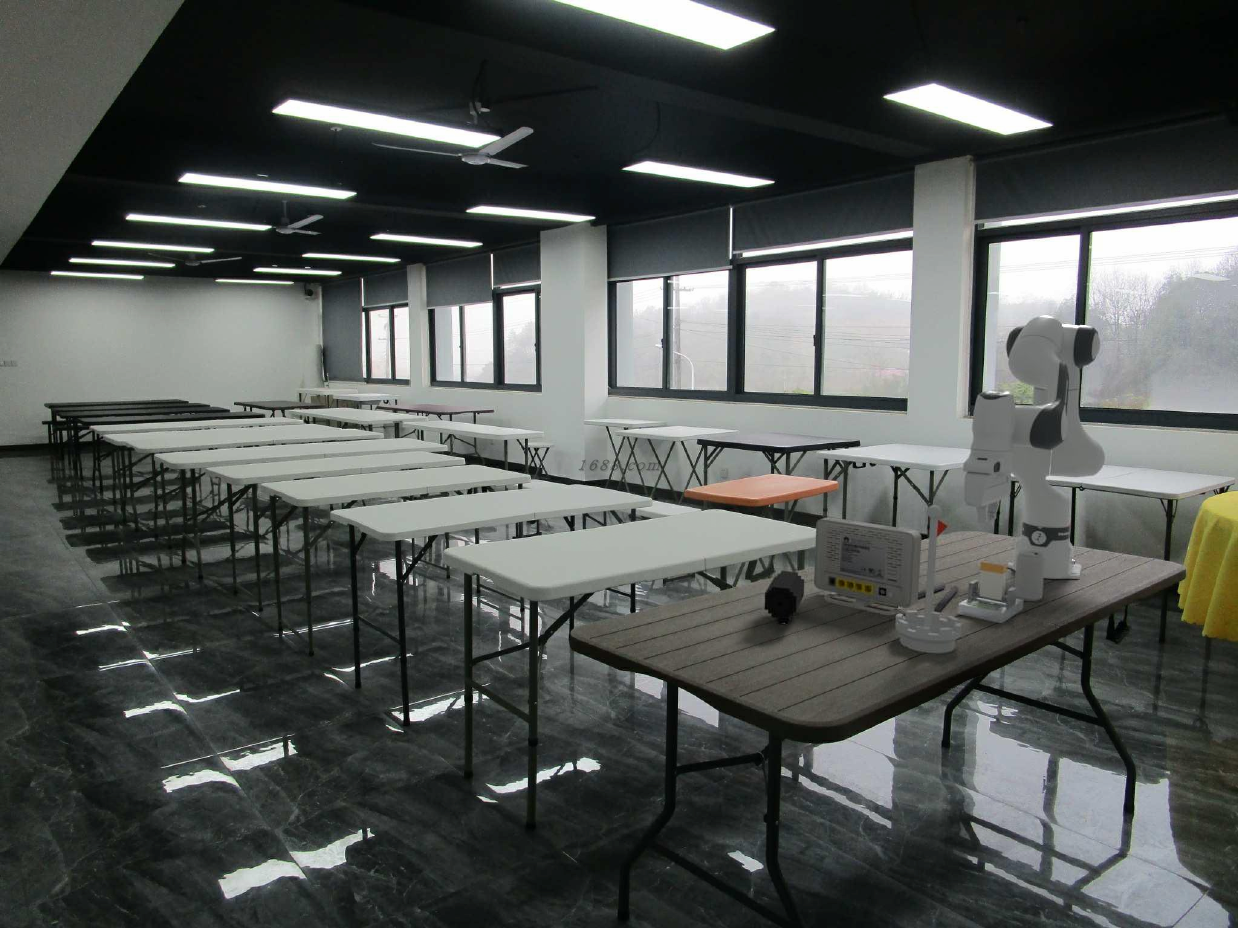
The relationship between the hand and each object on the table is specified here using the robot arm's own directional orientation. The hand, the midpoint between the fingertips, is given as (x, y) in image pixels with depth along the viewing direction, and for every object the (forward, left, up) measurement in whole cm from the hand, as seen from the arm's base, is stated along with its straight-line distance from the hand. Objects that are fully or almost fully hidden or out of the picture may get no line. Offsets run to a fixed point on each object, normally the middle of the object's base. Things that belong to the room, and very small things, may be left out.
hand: (986, 521), depth 188 cm
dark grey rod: (-8, -11, -23) cm, 27 cm away
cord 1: (-10, -17, -23) cm, 30 cm away
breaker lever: (-7, 0, -20) cm, 21 cm away
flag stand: (+26, -2, -23) cm, 35 cm away
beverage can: (-25, +3, -23) cm, 34 cm away
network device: (+9, -25, -23) cm, 35 cm away
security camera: (+34, -32, -23) cm, 52 cm away
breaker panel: (-7, 0, -23) cm, 24 cm away
